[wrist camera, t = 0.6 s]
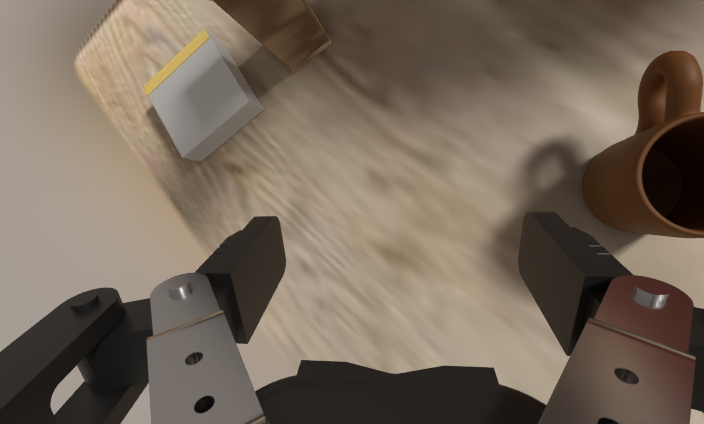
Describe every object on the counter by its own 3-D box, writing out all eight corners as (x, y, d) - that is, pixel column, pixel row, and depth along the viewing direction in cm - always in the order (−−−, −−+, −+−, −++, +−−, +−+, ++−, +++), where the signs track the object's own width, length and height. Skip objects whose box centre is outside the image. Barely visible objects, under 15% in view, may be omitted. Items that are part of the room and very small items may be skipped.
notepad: (222, 41, 40) (203, 27, 38) (264, 109, 39) (248, 100, 36) (164, 95, 43) (142, 86, 40) (201, 161, 41) (181, 157, 38)
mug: (566, 99, 30) (612, 52, 21) (671, 79, 28) (772, 17, 19) (585, 236, 30) (641, 246, 21) (694, 226, 28) (808, 233, 19)
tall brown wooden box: (309, 4, 37) (227, -113, 24) (332, 42, 37) (261, -56, 23) (271, 35, 39) (174, -60, 25) (293, 73, 38) (204, -4, 24)
